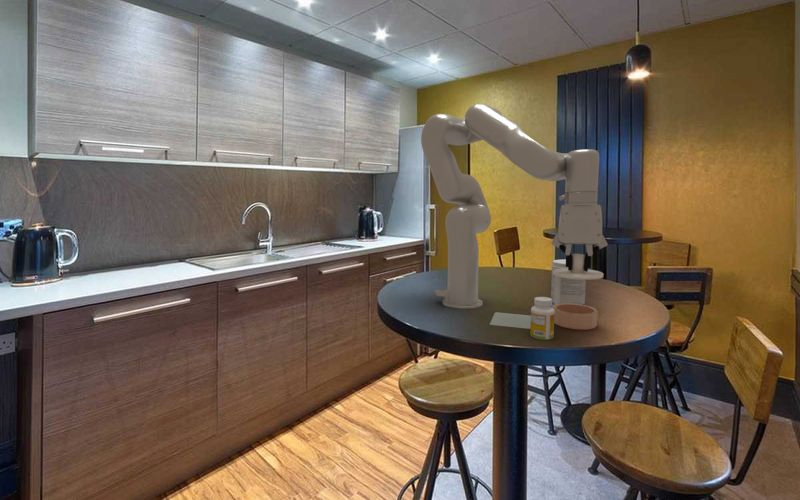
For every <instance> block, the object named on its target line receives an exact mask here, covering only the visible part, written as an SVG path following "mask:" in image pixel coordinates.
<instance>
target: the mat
mask: <svg viewBox="0 0 800 500" xmlns="http://www.w3.org/2000/svg"><path fill="white" fill-rule="evenodd" d="M530 324H531V314H529V315H528V314H519V313H508V312H497V311H495V312H494V314H493V316H492V319H491V320H490V322H489V325H490V326H500V327H507V328H508V327H509V328H515V329H516V328H517V329H527V330H530Z"/></svg>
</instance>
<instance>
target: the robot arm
mask: <svg viewBox="0 0 800 500" xmlns="http://www.w3.org/2000/svg"><path fill="white" fill-rule="evenodd" d="M420 136H421V137H420V143H421V149H422V152H423V155H424V157H425V159H426V161H427V164H428V166H429V167H428V168H429V169H430V172H431V175H432V177H433V181H434V184H435V186H436V189H437V192H438V194H439V195H438V196H440V198H441V200H442V201H444V202H445V203H449V204H457V205H456V206H454V207H452V208H451V209H449V210H448V213H447V214H446V216H445V219H444V220H445V233H446V237H447V289H444V290H441V289H435V290H434V296H435V297H436V298H443V300H442V305H443V306H444V307H449V308H452V309H461V310H464V309H465V310H467V309H469V310H471V309H476V308H480V307H482V306H483V304H484V303H483V300H481V299H480V298H479V258H480V257H479V252H480V250H479V241H478V238H477V237H478V236H477V235H478V234H481V233H483V232H486V231H487V230H488V229H489V228H490V225H491V223H492V216H491V215H492V214H491V211H490V209H489V205H488V203H487V200H486V197H485V195H484V192H483V190H482V188H481V187H482V186H481V185H480V184H479V182H478V180H477V179H476V178H475V177H474V176H472V175H470V174H467V173H462V171H461V169H460V168H459V165H458V162H457V160H456V157H455V155H454V153H453V152H452V150H451V149H450V147H449V145H452V146H457V147H458V146H459V147H460V146H466V145H469V144H474V143H476V142H481V141H483V142H485V143H487V144H489V145H490V146H491V147H493V148H494V149H495V150H497V151H499V152H500V153H501V154H502V155H503V156H504V157H505V158H507V159H508V160H509V161H510V162H511V163H513V164H514V165H515V166H517V167H518V168H520V169H521V170H523V171H524V172H525V173H527V174H528V175H530V176H532V177H533V178H535V179H537V180H541V181H550V182H557V181H563V180H565V185H564V187H565V188H564V190H565V191H564V192H565V193H564V194H562V195H561V194H560V195H559V196H558V201H562V202H564V204H562V205H561V207H560V211H559V217H558V230H557V233H556V234H555V236H554V237H553V239H552V241H551V245H552V246H554V247H556V248H557V249H560V251H562V252H563V253H564V255H565V259H566V267H568V270H569V271H571V270H572V252H571V251H572V245H585V248H586V250H585V251H586V252H585V254H584V255H585V267H584V271H586V272H588V269H591V267H592V256H593V255H594V254H595V253H597V252H598V251H599V250H601V249H603V248H605V247H608V245H609V244H608V242H607V240H606V238H605V236H604V235H603V212H602V206H601V204H598V195H599V194H598V191H599V190H598V189H599V175H600V174H599V170H600V153H599V151H598V150H596V149H591V148H587V149H586V148H585V149H583V148H582V149H575V150H571V151H569V152H568V153H565V152H564V153H562V152H557V151H555V150H552V149H549V148H547V147H546V146H544V145H542V144H540V143H539V142H538V141H536V140H534V139H533V138H531V137H530V136H529V135H527V134H526V133H525V132H524V131H523V127H522V126H521V125H519V124H518V123H516V122H514V121H513V120H511V119H509V118H508V117H506V116H505V115H503V114H502V112H501V111H500V110H499V109H497V108H494V107H492V106H489V105H488V104H486V103H476V104H473V105H471V106H470V107H468V108H467V110H466V112H465V114H464V117H463V118H460V117H457V116H455V115H454V116H453V115H450V114H448V113H436V114H434V115H432V116H430V117H429V118H428V119H427V120H426V121H425V123H424V125H423V127H422V130H421V135H420ZM564 244H565V245H564Z"/></svg>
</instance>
